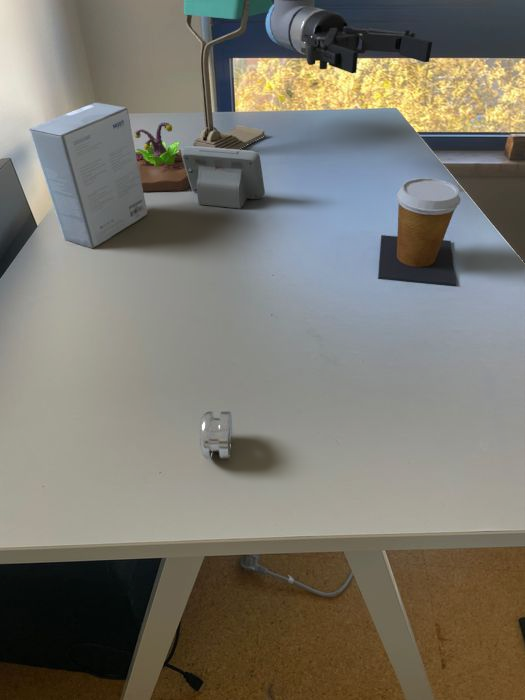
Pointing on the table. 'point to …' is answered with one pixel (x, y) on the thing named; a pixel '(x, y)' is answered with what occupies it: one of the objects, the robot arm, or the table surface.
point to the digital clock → (223, 175)
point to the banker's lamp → (218, 3)
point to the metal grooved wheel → (216, 434)
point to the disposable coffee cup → (424, 219)
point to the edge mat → (431, 274)
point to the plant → (161, 164)
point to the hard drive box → (91, 172)
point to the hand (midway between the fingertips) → (393, 57)
